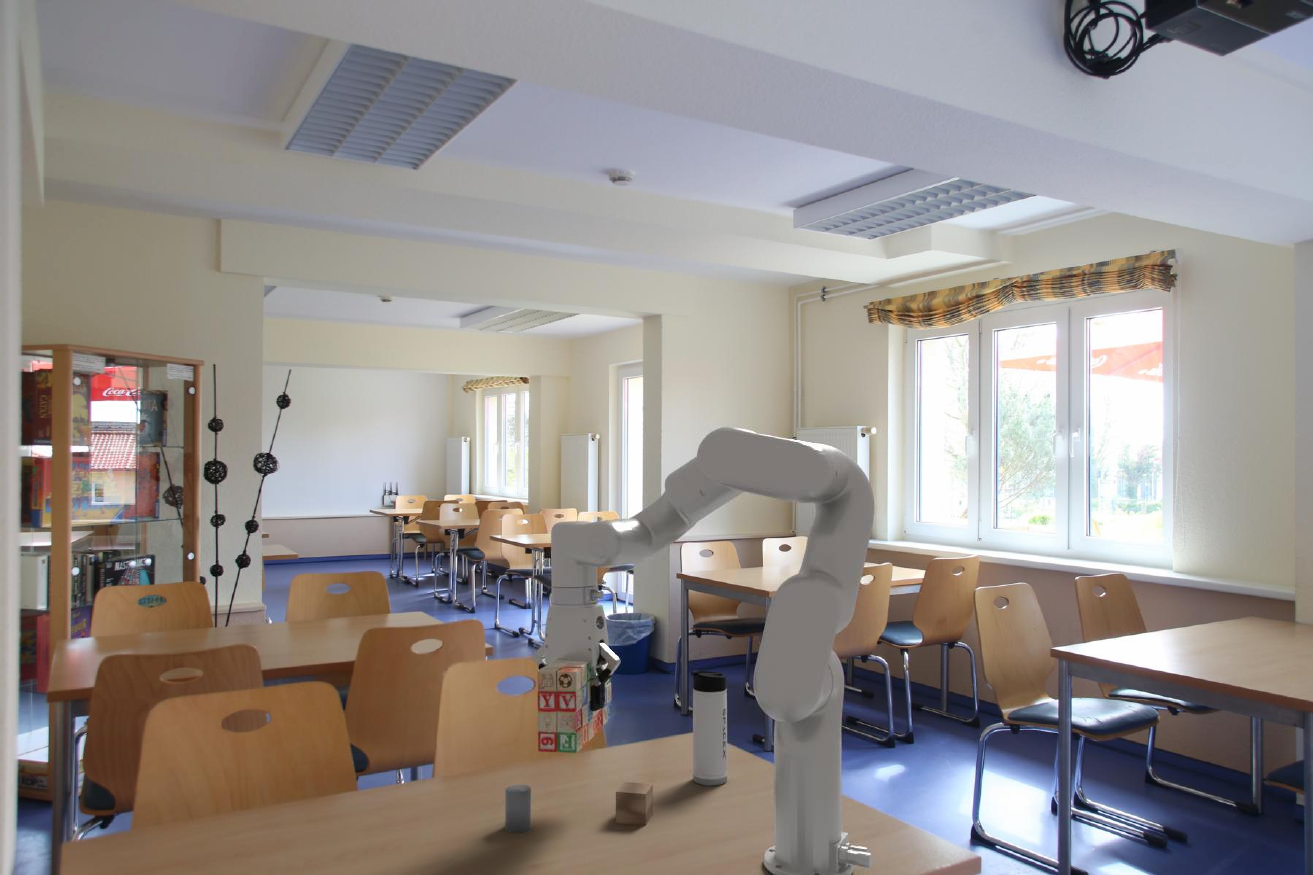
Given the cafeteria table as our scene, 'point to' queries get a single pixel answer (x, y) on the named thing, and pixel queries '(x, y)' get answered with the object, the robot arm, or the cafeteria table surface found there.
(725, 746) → the travel mug
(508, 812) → the dark grey cylinder
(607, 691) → the stack of blocks
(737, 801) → the cafeteria table surface
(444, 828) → the cafeteria table surface
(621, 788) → the walnut cube
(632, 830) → the cafeteria table surface
